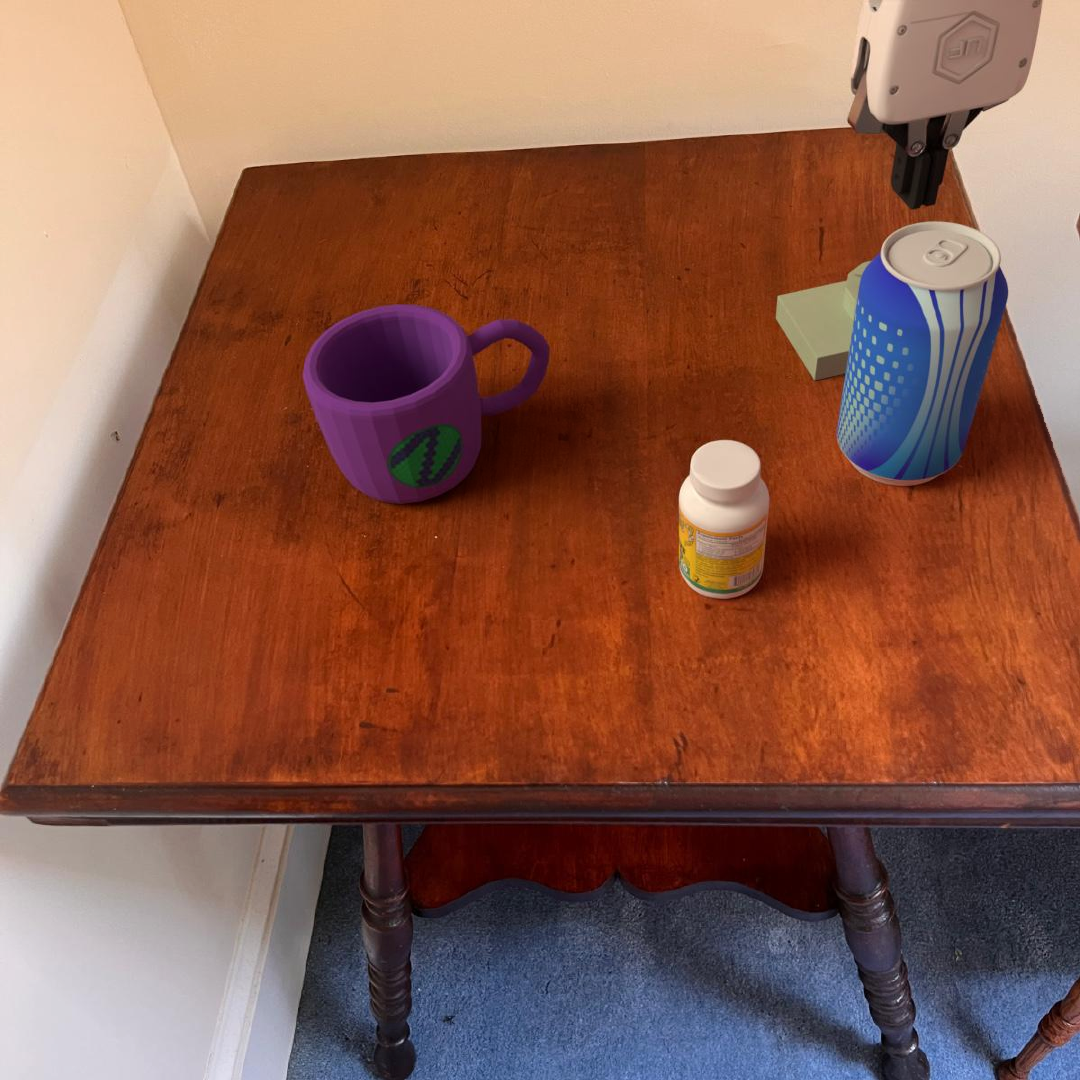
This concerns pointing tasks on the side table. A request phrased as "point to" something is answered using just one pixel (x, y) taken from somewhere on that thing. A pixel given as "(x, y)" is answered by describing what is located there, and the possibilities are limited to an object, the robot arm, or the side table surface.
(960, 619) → the side table surface
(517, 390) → the mug
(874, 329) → the beer can
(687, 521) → the supplement bottle
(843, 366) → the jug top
